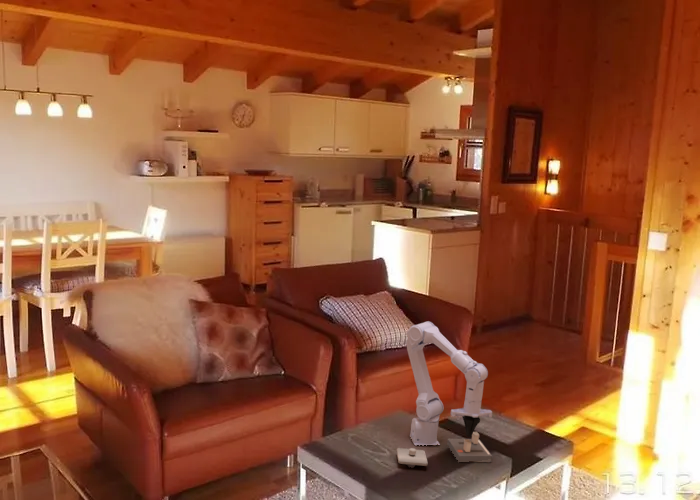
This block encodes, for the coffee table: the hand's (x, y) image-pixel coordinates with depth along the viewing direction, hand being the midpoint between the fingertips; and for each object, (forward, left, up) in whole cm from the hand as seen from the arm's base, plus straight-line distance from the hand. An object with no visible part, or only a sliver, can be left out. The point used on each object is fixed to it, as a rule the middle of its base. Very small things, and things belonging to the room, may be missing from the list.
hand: (468, 435), depth 228 cm
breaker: (+5, +6, -6) cm, 9 cm away
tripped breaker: (0, 0, -6) cm, 6 cm away
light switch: (-21, -4, -9) cm, 23 cm away
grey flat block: (+2, +3, -8) cm, 9 cm away
